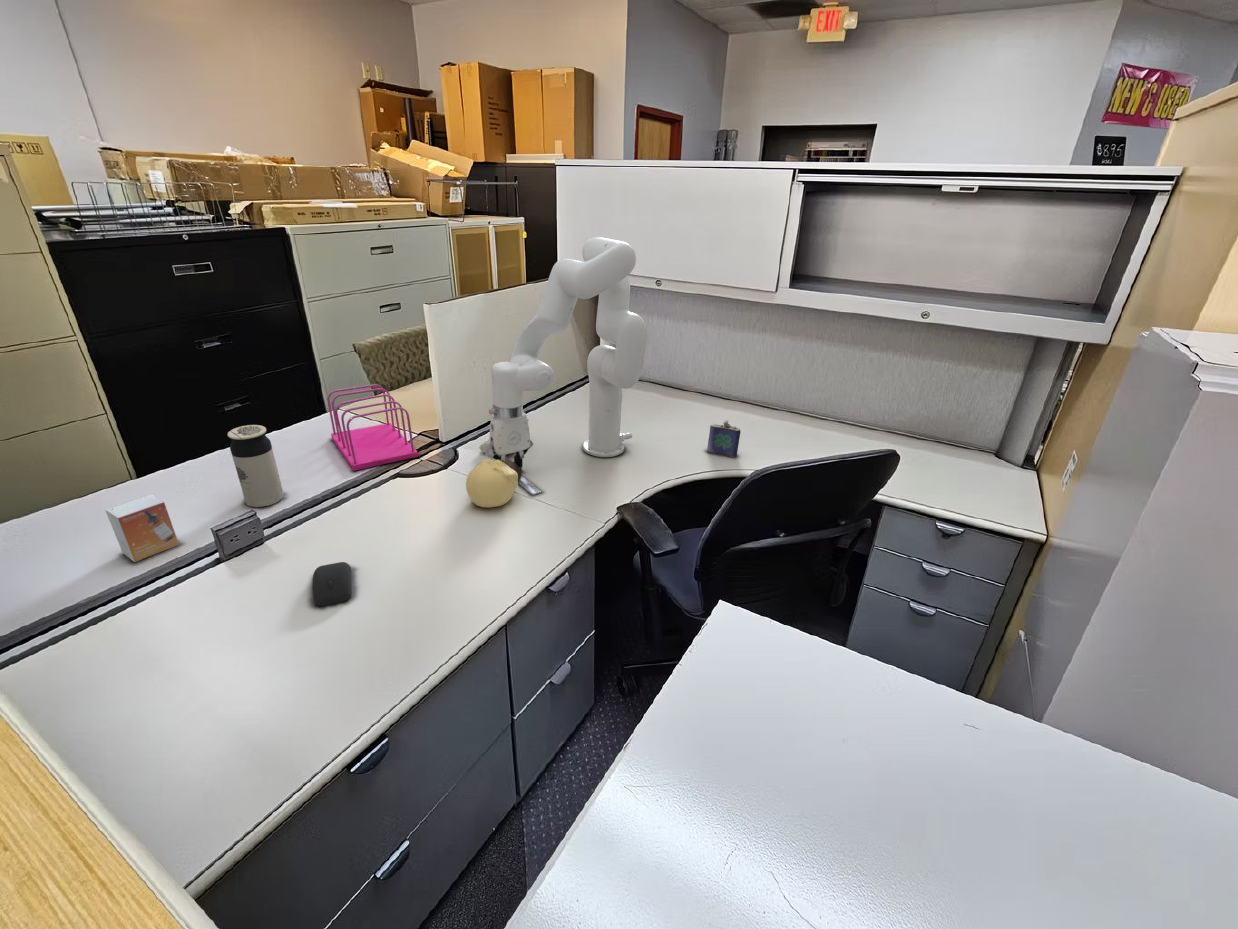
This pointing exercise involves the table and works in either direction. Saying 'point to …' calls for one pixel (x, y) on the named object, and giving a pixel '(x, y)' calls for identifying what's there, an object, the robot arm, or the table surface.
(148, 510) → the small box
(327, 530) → the table surface
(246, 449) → the travel mug
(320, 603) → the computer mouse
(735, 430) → the flask
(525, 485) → the knife
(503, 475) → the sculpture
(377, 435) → the file sorter
